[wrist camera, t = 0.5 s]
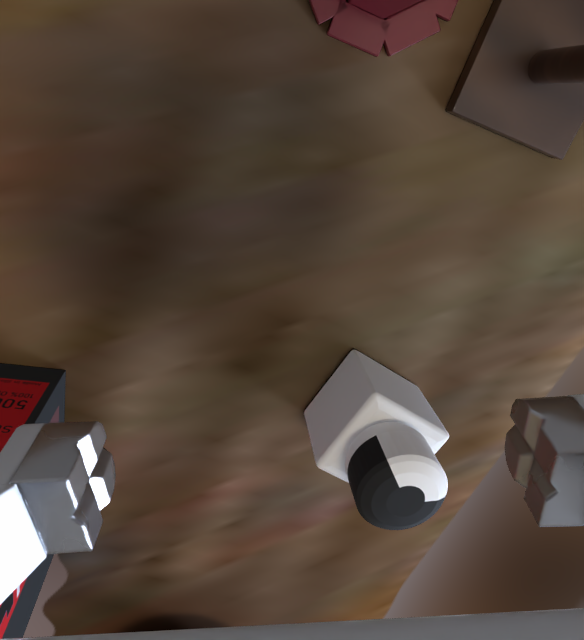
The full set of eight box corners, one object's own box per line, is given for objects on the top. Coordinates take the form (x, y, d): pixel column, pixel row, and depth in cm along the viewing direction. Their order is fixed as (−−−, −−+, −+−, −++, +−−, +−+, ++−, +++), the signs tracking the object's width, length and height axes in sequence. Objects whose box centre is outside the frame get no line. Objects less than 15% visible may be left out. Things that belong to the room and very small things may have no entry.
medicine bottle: (367, 447, 46) (412, 558, 35) (301, 412, 43) (326, 519, 32) (419, 386, 44) (483, 483, 33) (352, 346, 41) (397, 436, 30)
